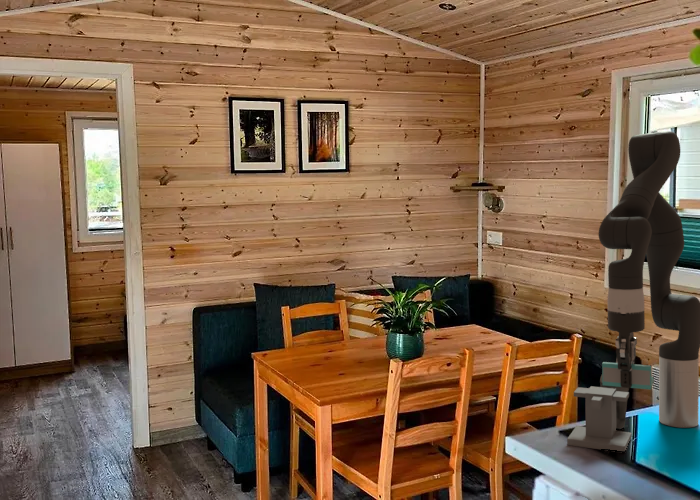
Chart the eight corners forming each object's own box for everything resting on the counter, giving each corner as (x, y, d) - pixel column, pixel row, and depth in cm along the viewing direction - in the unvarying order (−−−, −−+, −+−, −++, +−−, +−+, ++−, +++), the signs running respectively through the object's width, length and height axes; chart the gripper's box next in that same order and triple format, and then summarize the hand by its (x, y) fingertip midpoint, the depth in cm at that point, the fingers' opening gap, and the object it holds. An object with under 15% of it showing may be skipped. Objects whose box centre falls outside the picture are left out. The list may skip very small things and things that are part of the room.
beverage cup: (593, 424, 184) (593, 348, 183) (617, 421, 186) (616, 345, 185) (612, 433, 177) (612, 354, 176) (636, 429, 179) (636, 351, 178)
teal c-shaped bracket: (607, 377, 165) (607, 356, 164) (654, 381, 160) (654, 359, 159) (602, 385, 158) (602, 363, 158) (650, 389, 153) (650, 366, 153)
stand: (576, 431, 179) (576, 384, 178) (631, 438, 173) (631, 390, 172) (567, 444, 170) (566, 395, 169) (624, 452, 164) (624, 401, 163)
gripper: (612, 302, 163) (613, 377, 164) (602, 312, 151) (603, 392, 152) (647, 304, 159) (648, 380, 161) (640, 314, 147) (641, 396, 149)
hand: (626, 386), depth 156 cm, fingers closed on teal c-shaped bracket, 1 cm apart
